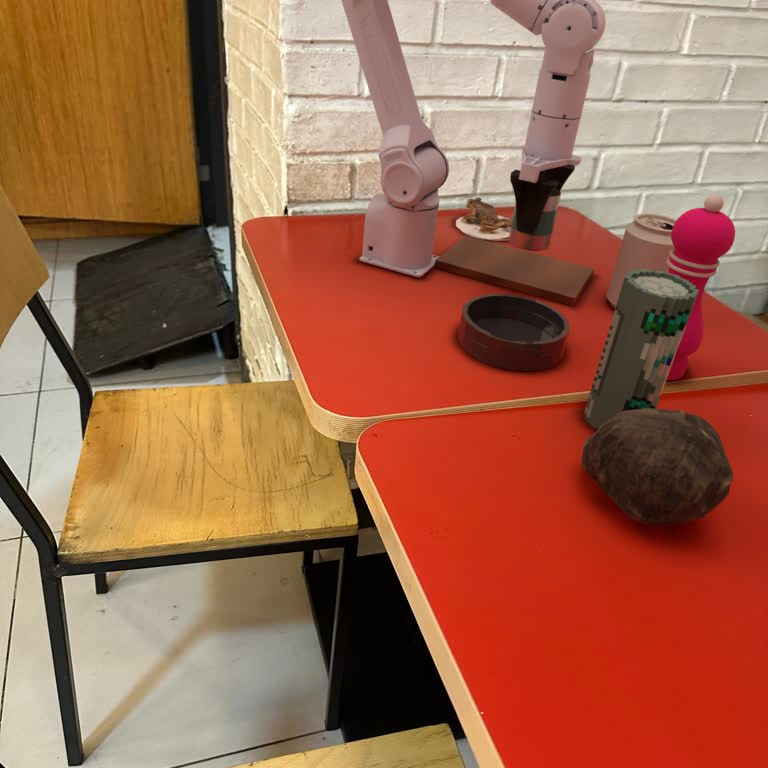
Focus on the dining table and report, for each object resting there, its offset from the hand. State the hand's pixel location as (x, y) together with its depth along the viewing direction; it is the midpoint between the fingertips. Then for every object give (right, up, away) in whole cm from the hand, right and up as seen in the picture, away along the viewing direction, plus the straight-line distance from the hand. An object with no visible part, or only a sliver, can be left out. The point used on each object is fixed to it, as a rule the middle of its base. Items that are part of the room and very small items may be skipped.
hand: (531, 225), depth 88 cm
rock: (+3, -30, -29) cm, 42 cm away
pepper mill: (+12, -18, -9) cm, 24 cm away
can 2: (+4, -24, -19) cm, 31 cm away
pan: (-4, -15, -7) cm, 18 cm away
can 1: (+14, -10, +5) cm, 18 cm away
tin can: (0, -2, +1) cm, 2 cm away
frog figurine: (-2, +5, +26) cm, 26 cm away
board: (0, -4, +11) cm, 12 cm away
